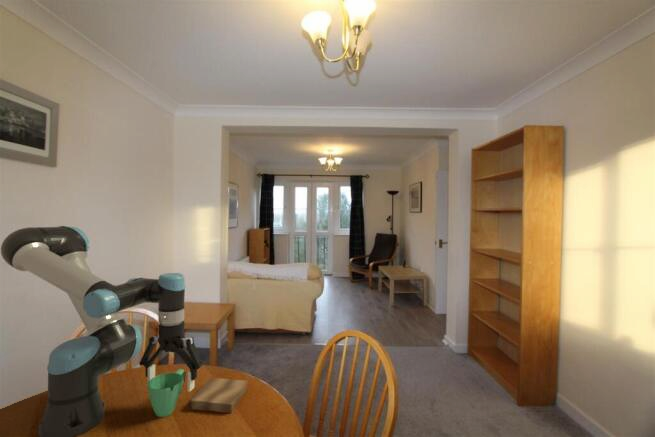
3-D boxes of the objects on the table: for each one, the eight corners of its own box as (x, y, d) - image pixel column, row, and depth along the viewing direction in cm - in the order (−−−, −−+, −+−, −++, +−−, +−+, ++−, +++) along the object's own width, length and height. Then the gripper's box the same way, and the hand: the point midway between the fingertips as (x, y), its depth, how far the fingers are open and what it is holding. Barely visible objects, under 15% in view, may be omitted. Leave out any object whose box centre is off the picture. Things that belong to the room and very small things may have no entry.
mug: (169, 424, 93) (170, 390, 93) (139, 420, 94) (139, 387, 94) (195, 395, 107) (196, 366, 107) (169, 393, 108) (169, 364, 108)
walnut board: (189, 409, 100) (190, 400, 100) (210, 385, 114) (211, 377, 114) (231, 413, 98) (232, 404, 98) (247, 389, 112) (248, 380, 112)
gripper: (126, 324, 98) (126, 391, 98) (202, 328, 95) (202, 397, 95) (143, 316, 105) (143, 379, 105) (214, 320, 103) (213, 384, 103)
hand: (171, 387), depth 100 cm, fingers open, 13 cm apart
